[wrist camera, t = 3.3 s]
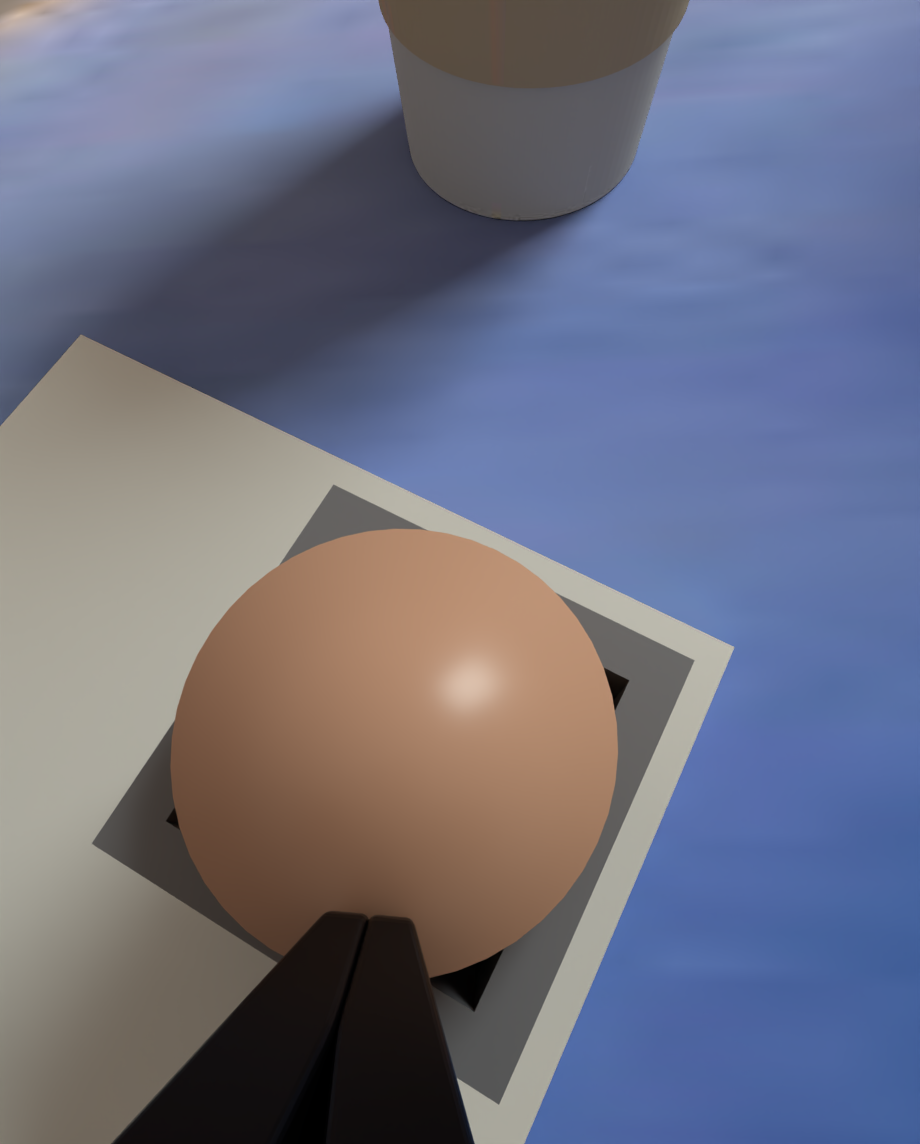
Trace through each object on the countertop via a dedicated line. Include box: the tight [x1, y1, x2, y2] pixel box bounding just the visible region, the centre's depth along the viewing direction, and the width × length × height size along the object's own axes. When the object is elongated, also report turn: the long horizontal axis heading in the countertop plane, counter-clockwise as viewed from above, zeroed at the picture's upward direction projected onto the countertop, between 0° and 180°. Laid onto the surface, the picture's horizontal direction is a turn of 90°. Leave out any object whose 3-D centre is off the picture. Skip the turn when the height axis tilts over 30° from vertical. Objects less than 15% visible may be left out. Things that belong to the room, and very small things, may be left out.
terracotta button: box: [170, 529, 618, 978], centre depth 11 cm, size 5×5×7 cm
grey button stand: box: [0, 335, 734, 1144], centre depth 12 cm, size 19×17×7 cm
